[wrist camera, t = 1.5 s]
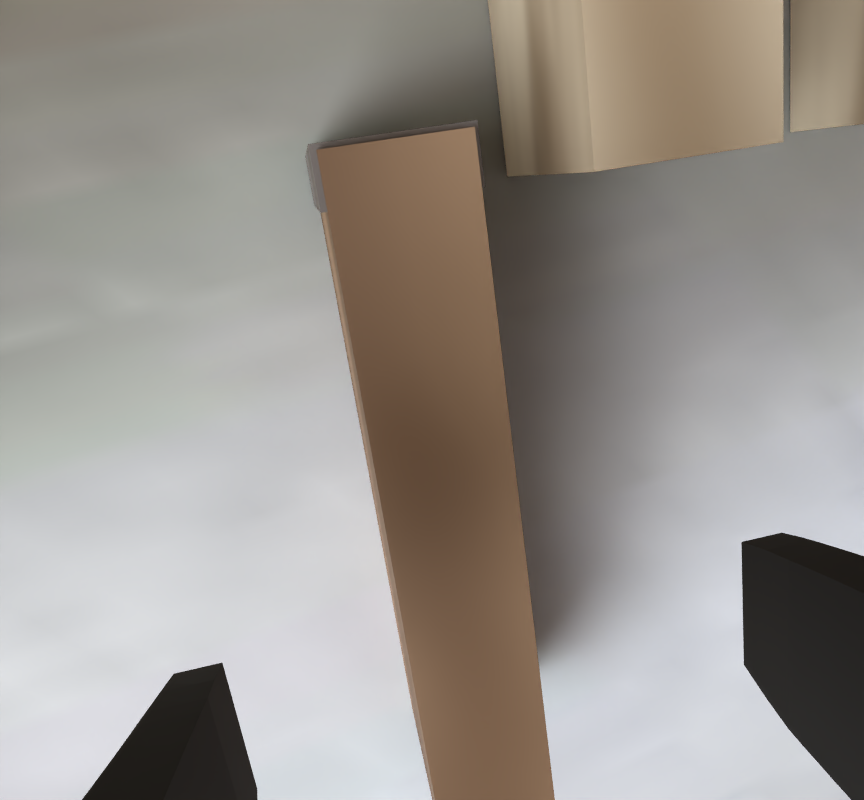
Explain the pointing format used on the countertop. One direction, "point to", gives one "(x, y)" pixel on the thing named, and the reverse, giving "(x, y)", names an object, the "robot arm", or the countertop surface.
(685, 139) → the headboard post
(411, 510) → the bed rail
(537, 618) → the countertop surface
